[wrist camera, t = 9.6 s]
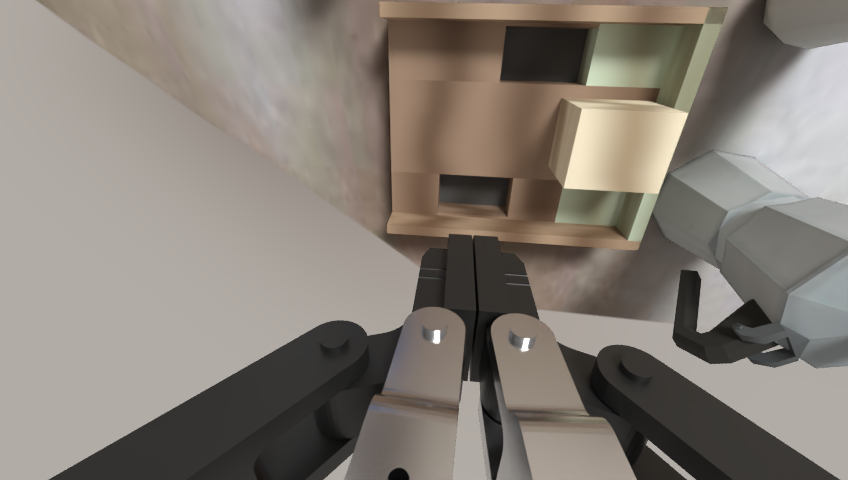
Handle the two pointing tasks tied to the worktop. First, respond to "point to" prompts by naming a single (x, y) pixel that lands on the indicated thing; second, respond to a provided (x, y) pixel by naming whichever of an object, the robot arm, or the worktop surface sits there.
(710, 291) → the worktop surface
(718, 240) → the coffee maker
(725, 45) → the worktop surface
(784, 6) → the salt shaker
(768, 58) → the worktop surface
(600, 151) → the birch block
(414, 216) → the box
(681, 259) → the worktop surface
